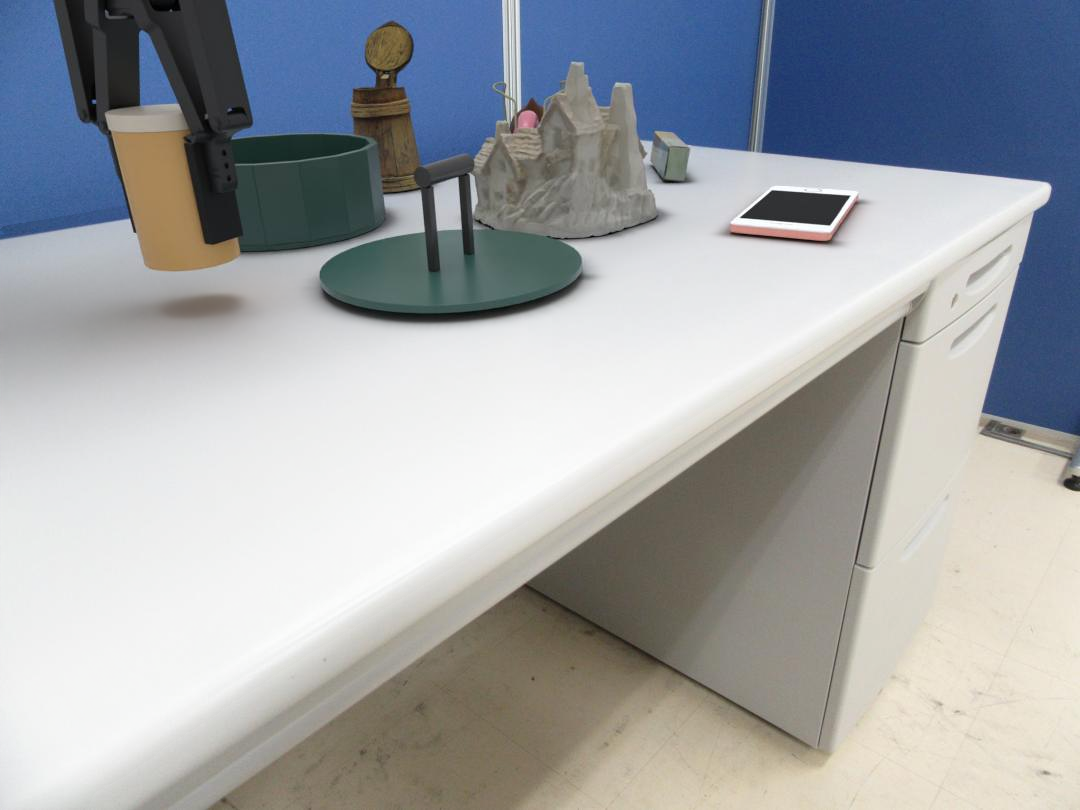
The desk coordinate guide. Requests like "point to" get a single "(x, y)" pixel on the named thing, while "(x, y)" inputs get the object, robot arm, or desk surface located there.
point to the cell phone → (796, 213)
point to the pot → (306, 189)
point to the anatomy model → (525, 111)
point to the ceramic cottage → (567, 168)
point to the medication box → (669, 156)
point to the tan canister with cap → (163, 189)
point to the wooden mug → (388, 107)
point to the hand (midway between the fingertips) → (187, 233)
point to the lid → (450, 260)
